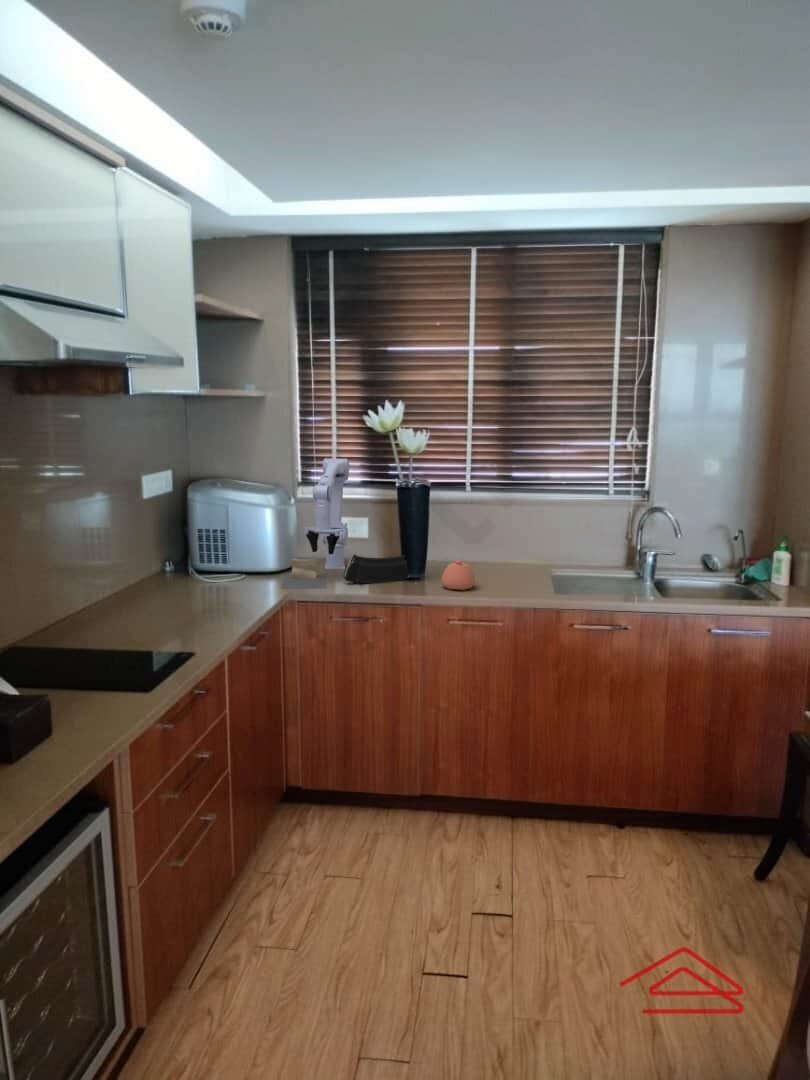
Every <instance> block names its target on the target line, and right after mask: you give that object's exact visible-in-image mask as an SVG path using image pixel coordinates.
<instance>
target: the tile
mask: <svg viewBox="0 0 810 1080" xmlns="http://www.w3.org/2000/svg"><path fill="white" fill-rule="evenodd" d="M291 567H292V569H291V572H292V573H291V575H292V579H302V578H316V575H317V558H293V559H291Z"/></svg>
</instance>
